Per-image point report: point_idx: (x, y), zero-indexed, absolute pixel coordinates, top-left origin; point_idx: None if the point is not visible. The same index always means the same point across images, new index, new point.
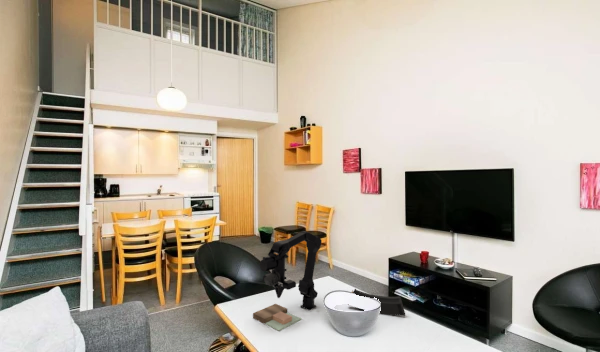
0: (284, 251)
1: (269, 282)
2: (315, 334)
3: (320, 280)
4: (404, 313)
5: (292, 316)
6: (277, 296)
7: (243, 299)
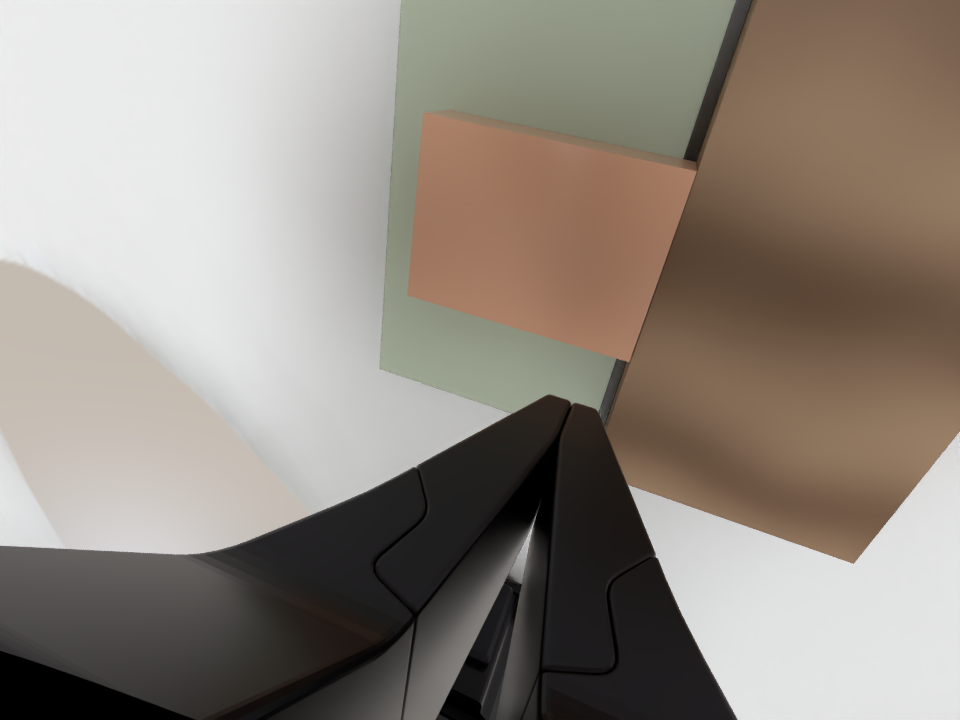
0: None
1: None
2: (115, 153)
3: None
4: None
5: (484, 370)
6: (585, 421)
7: None
